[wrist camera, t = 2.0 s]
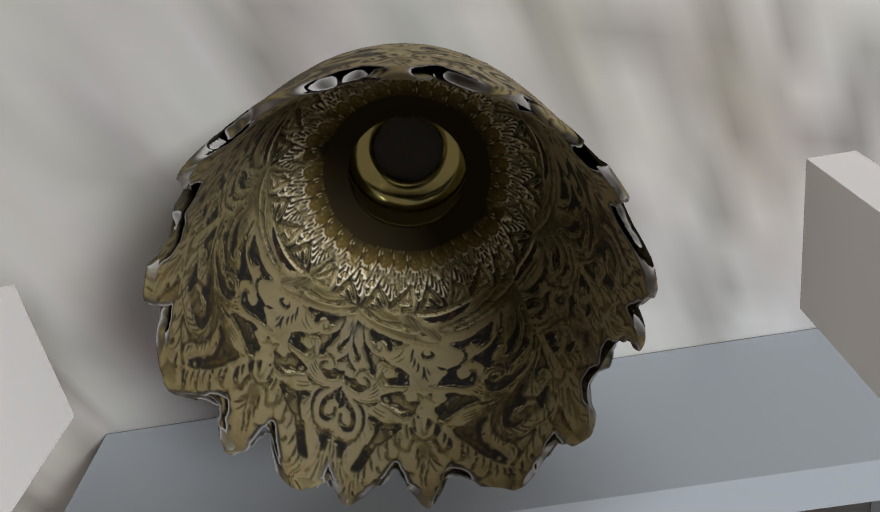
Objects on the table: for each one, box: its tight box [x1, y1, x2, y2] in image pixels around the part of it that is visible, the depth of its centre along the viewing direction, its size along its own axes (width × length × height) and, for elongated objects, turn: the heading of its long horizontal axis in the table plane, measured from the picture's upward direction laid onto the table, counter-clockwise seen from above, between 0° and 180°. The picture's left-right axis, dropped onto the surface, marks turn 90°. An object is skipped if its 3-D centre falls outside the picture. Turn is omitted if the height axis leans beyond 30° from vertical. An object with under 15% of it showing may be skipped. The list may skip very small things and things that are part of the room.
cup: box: [143, 43, 658, 509], centre depth 15 cm, size 8×7×8 cm
